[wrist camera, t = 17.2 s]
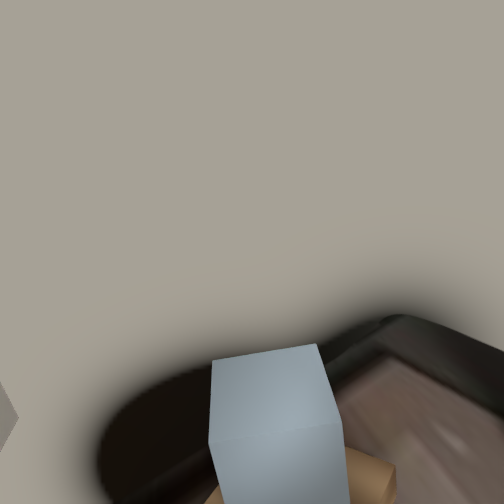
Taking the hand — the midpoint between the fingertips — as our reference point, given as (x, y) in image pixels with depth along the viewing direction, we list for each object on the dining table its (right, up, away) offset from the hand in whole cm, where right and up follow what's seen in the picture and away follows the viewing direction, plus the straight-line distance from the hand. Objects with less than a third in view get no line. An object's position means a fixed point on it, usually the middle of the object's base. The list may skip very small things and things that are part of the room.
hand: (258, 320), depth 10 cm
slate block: (+3, -17, +23) cm, 29 cm away
